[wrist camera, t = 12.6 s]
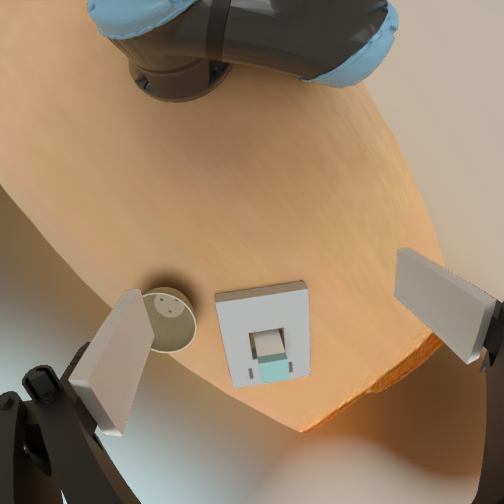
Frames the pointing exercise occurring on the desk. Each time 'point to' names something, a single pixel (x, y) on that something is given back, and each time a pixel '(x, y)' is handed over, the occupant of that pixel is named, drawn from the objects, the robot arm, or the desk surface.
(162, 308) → the flower pot
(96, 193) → the desk surface
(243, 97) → the desk surface
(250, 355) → the outlet plate
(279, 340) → the block
